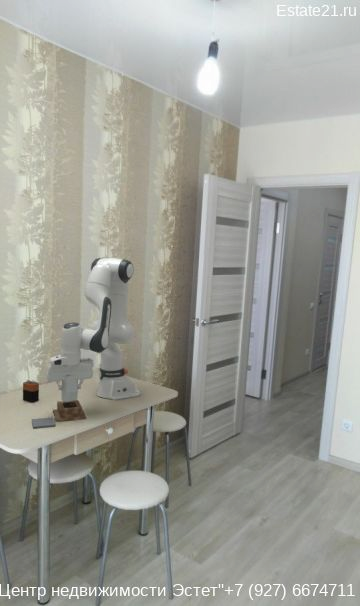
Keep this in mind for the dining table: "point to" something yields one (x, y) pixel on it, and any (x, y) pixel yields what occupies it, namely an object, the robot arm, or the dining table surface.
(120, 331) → the robot arm
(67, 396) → the skincare box
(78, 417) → the socket block
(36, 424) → the rubber mat
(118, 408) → the dining table surface
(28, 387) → the battery
